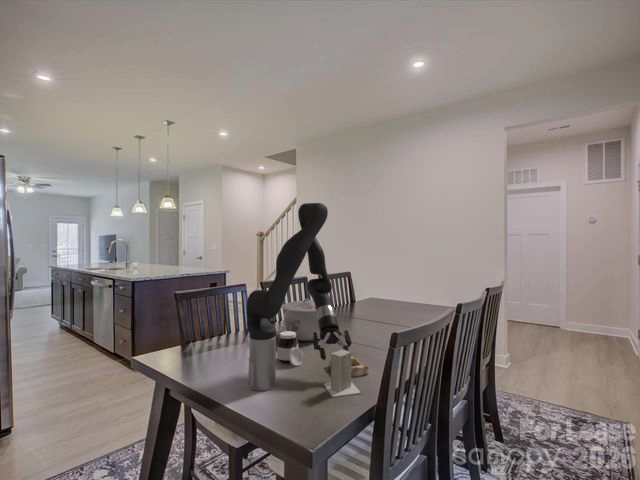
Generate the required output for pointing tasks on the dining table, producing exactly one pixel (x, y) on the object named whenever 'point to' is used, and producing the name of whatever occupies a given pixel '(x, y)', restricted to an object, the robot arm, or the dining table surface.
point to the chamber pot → (301, 319)
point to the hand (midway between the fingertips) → (335, 358)
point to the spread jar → (289, 349)
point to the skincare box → (340, 370)
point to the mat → (348, 391)
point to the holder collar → (356, 367)
